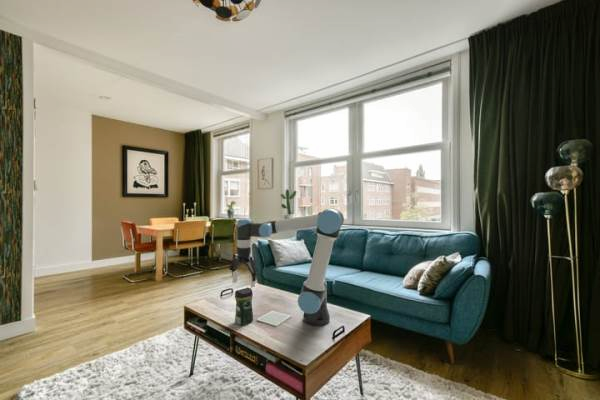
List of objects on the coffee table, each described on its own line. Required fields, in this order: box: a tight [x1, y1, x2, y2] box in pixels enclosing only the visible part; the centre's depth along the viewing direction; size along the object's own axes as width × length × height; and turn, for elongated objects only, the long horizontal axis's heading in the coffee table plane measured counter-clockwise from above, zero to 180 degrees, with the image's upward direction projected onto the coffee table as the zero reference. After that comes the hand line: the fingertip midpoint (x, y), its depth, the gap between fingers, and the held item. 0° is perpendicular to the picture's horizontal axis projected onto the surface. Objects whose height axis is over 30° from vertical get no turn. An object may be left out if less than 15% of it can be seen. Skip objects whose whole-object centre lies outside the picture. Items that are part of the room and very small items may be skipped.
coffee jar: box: [234, 286, 254, 326], centre depth 152 cm, size 10×8×19 cm
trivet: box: [256, 310, 292, 328], centre depth 156 cm, size 14×14×1 cm
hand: (243, 284), depth 152 cm, fingers open, 13 cm apart
